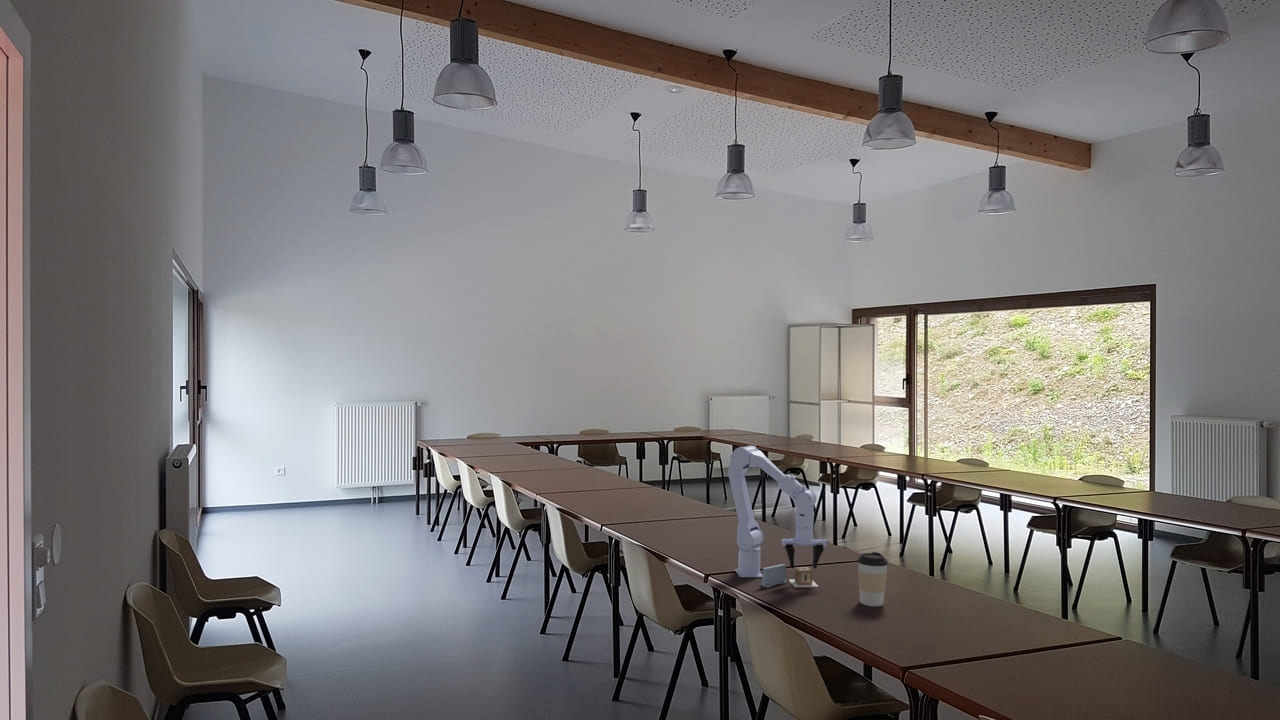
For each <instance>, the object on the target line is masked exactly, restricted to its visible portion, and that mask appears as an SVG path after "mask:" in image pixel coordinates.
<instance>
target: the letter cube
mask: <svg viewBox="0 0 1280 720" xmlns="http://www.w3.org/2000/svg"><path fill="white" fill-rule="evenodd" d="M794 579H795V582H796V583H797V584H798V585H812V580H813V570H812V569H811V568H810V567H809V566H806V567H804V566H803V567H801V566H800V567H798V566H797V567H796V566H794Z"/></svg>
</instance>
